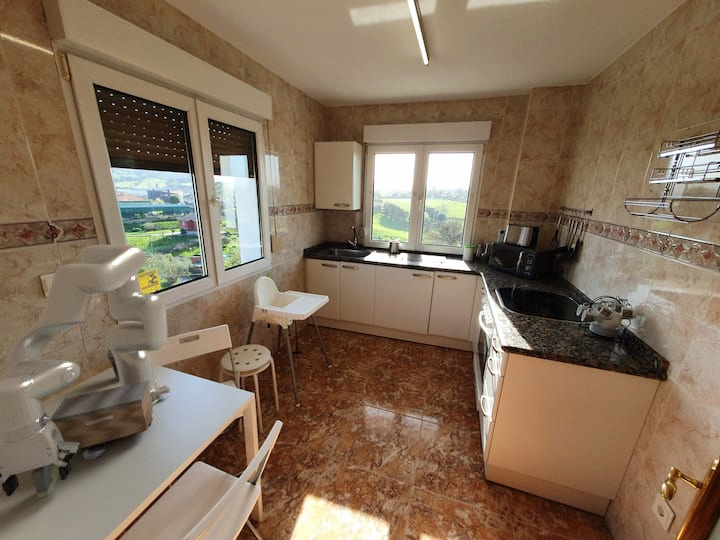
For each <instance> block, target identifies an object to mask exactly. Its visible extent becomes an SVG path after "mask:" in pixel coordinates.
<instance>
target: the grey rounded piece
mask: <svg viewBox="0 0 720 540" xmlns="http://www.w3.org/2000/svg"><path fill="white" fill-rule="evenodd" d="M107 450H108V448H107V445H106V442H102V443H98V444H95V445H91V446H87V447H86V449H85V450H84V452H83V453H82V457H83V460H84V461H85V462H93V461H95V460H97V459H99V458H101V457H102V456H103V455H104V454H105V453H106V452H107Z"/></svg>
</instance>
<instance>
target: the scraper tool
mask: <svg viewBox="0 0 720 540" xmlns="http://www.w3.org/2000/svg"><path fill="white" fill-rule="evenodd" d="M61 459H62V460H63V458H61ZM59 467H60V466H59V465H56V464H53V467H52V469H51V470H50V468H49V465H46V466H43V467H39V468H36V469H32V472H31V473H30V475H31V477H32V481H33V484H34V487H35V489H36V492H37V493H36V497H37V498H38V499H42V498H45V497H48V496H50V495H51V493H52V491H53V490H54V488H55V486H56V484H57V483H58V481H59V479H60V478H61V477H60V474H59V470H58V468H59Z"/></svg>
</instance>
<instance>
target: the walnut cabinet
mask: <svg viewBox="0 0 720 540" xmlns="http://www.w3.org/2000/svg"><path fill="white" fill-rule="evenodd" d="M148 385H149V381H145V382H140V383H136V384H131V385H126V386H121V385H120V386H118V387H116V386H115V387H112V388H107V389H103V390H102V389H101V390H99V391H92V392H89V393H84V394H83V393H82V394H78V395H74V396H70V397H69V396H68V397H65V398H64V399H63V401H62V402H61V403H60V405H59V406H58V407H57V408H56V410H54V412H53V413H52V415H51V416H54V420H53V422H54V424H55V425H56V426H57V428H58V429H59V431H60V433H61V435H62V438H63V440H64V442H78V443H80V446H79V448H78V450H80V449H84V448H88V447H90V446H92V445H95V444H98V443H102V442H103V443H106V442H109V441H112V440H116V439H120V438H124V437H129V436H130V435H134V434H138V433H142V432H146V431H148V428H149V427H150V426H152V422H153V419H154V417H153V413H154V409H153V406H152V403H151V398H150V393H149V387H148ZM62 451H63V452H66V453H69V452H70V450H62Z"/></svg>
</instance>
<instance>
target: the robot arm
mask: <svg viewBox="0 0 720 540" xmlns="http://www.w3.org/2000/svg"><path fill="white" fill-rule="evenodd" d="M79 255H80V260H81V262H82V263H68V264H64V265H62V266H59V268H57V269H56V271H55V273H54V275H53V279H52V281H51V285H50V288H49V292H48V295H47V298H46V301H45V305H44V308H43V312H42V315H41V318H40V319H39V320H38V321H37V322H36V323H35V324H34V325H32V326H31V327H30V328H29V329H28V330H26V331H25V333H24V334H23V335H22V336H21V337H20V338H18V340H17V341H16V342H15V343H14V344H13V346H12V347H11V349H10V351H9V354H8V356H7V358H6V359H7V360H6V362H5V366H4V369H3V374H2V380H0V485H1V487H2V489H3V492H4V493H5V494H6V497H10V496H12V495H13V494H14V493H15V492H16V491H17V489H18V487H19V485H20V481H19V479H18V476H17V474H20V473H24V472H28V471H31V470H32V471H33V470H34V469H36V468H39V467H43V466H46V465H48V466H49V465H52V464H53V465H55V464H56V465H59V466H60V467H59V468H58V470H59V474H60V477H59V478H60V480H61V481H66V480H67V477H68V476H69V474H70V473H71V472H72V471H73V466H72V463H71V460H72V459H73V458H74V457H75V456H76V454H77V451H78V450H79V449H78V448H79V446H80V443H78V442H64V440H63V438H62V435H61V433H60V431H59V429H58V428H57V426H56V425H55V424H54V422H53V420H54V416H52V415H50V416H49V415H47V412H46V411H45V408H44V404H43V400H44V399H45V398H47V397H49V396H52V395H54V394H56V393H59V392H61V391H62V390H63V391H64V390H65V389H66V388H69V387H70V386H71V385H73V384H74V383H75V382H76V381H77V380H78V378H79V377H80V375H81V367H80V366H79V364H78V363H76V362H74V361H71V360H63V359H62V360H58V359H57V360H55V359H54V360H53V359H50V360H49V359H41V358H42V355H43V353H44V350H45V349H46V347H47V345H49V343H50V342H51V341H52V340H53V339H54V338H55V337H57V336H58V335H60V334H63V333H64V332H66V331H68V330H70V329H72V328H75V327H79V326H80V325H83V324H84V323H85V322H86V321H87V317H88V313H89V309H90V305H91V301H92V297H93V294H102V295H103V294H107V299H108V309H109V314H110V316H111V317H112V319H114V320H115V321H124V323H123V322H122V323H118V324H116V325H114V326H113V327H111V328H110V329H109V330H108V332H107V335H106V344H107V347H108V350H109V349H110V350H111V352H112V354H113V356H114V359H115V362H116V366H117V371H118V375H119V380H120V381H119V383H120V387H121V386H126V385H131V384H136V383H140V382H145V381H149V385H148V387H149V393H150V398H151V403H152V407H153V406H155V404H158V402H159V401H160V399H162V395H165V394H169V393H170V391H171V389H170V387H168V385H162V386H159V384H158V382H156V383H155V377H154V372H153V371H154V370H153V365H152V362H151V361H152V360H151V355H150V353H149V352H154V351H155V352H156V351H159V350H160V349H162V348H163V347H164V346H165V345H166V344H167V343H166V342H167V340H168V323H167V321H168V320H167V307H166V303H165V301H164V299H163V297H161V296H160V295H159V294H155V293H144V292H143V293H142V292H141V288H140V282H139V278H138V275H137V274H138V273H139V272H141V270H142V269H143V268H144V266H145V264H146V260H147V258H146V257H147V256H146V254H145V251H144V250H143V249H141V248H140V247H138V246H135V245H129V244H128V245H127V244H126V245H124V244H123V245H122V244H118V245H117V244H92V245H87V246H85V247H83V248H82V249H81V251H80V254H79ZM125 321H126V322H125ZM62 450H70V451H69V452H63V451H62ZM62 459H63V460H62Z"/></svg>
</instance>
